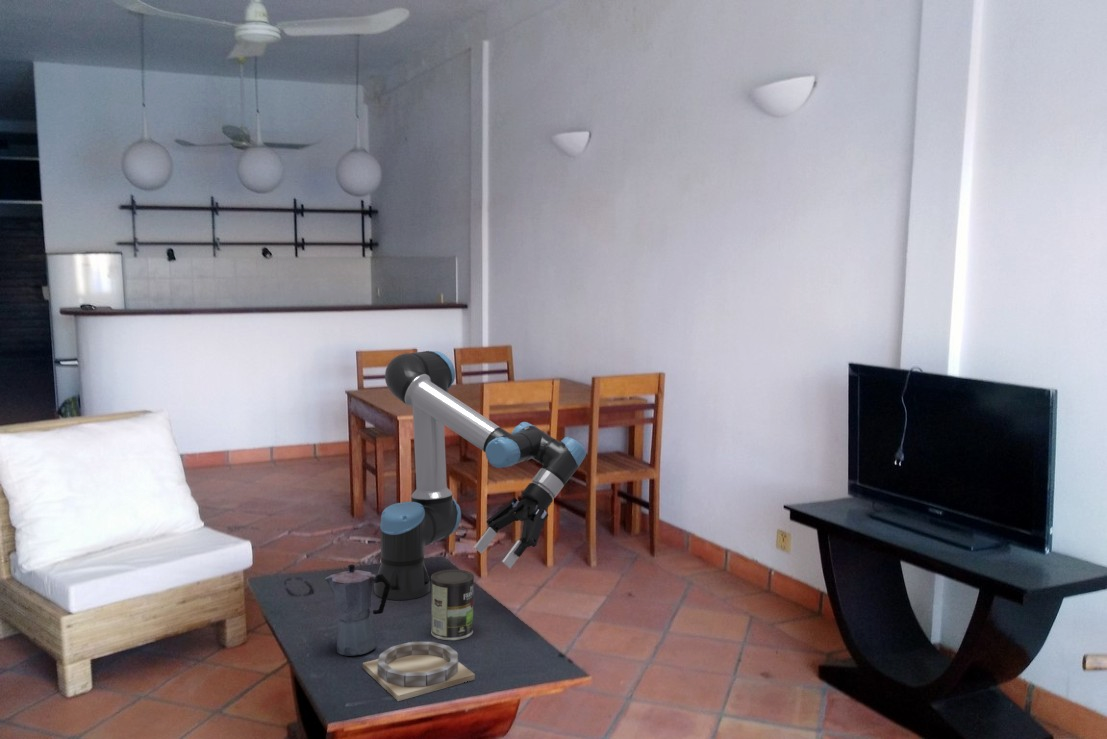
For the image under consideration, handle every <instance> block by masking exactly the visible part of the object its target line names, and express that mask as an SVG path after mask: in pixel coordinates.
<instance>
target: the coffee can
mask: <svg viewBox="0 0 1107 739" xmlns="http://www.w3.org/2000/svg"><path fill="white" fill-rule="evenodd" d="M430 579H431V580H430V582H431V607H430V608H431V626H430V628H431V630H430V633H431V635H432V636H433V638H436V639H437V640H441V641H459V640H460V641H461V640H464V639H467V638H468V637H471V636H472V635H473V633H474V580H475V575H474V574H473V573H472V572H471V571H467V570H464V569H443V570H438V571H436V572H434V573H433V574H432V575H431V577H430Z"/></svg>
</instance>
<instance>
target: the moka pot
mask: <svg viewBox="0 0 1107 739" xmlns="http://www.w3.org/2000/svg"><path fill="white" fill-rule="evenodd" d="M347 567H348V568H347V569H348V570H346V571H341V572H339V573H335V574H329V576H327V577H325V579H324V581H326V582H327V584H328V586H329V588H330V589H331V592H332V593H333V595H334V600H335V605H336V611H337V617H338V626H337V640H336V641H337V642H336V652H337V653H338V654H339V655H341V656H345V657H349V656H350V657H351V656H352V657H354V656H360V655H365V654H368V653H370V652H371V651H373V650H375V649H376V642H375V638H374V632H373V626H372V621H371V616H370V615H371V614H370V613H371V609H370V608H371V604H372V590H373V584H375V583H378V582H383V583H384V584H385V587H384V591H383V595H382V597H381V599H380V605H379V606H378V609H373V610H372V614H373V615H379V614H383V613H384V608H385V607H386V602H387V600H388V599H387V596H388V593H389V590H390V583H389V582H388V580H387V579H385V577H384V576H383V574H378V573H377V574H378V575H377V574H374V573H372V572H371V571H368V570H367V571H365V570H361V569H360V570H359V569H356V570H355V568H356V565H355V564H349V565H347Z"/></svg>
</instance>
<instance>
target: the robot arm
mask: <svg viewBox="0 0 1107 739" xmlns="http://www.w3.org/2000/svg"><path fill="white" fill-rule="evenodd" d="M385 368H386V369H385V372H384V378H385V385H386V386H387V389H388V390H389V391H390V393H391V394H392V395H394V397H395V398H397V399H398V400H399V401H400V402H402V403H403V404H405V405H407V406H409V407H412V420H413V441H414V442H413V444H414V462H415V463H414V464H415V484H416V489H415V490H414V492H412V494H411V501H403V502H396V503H393V504H390V505H389V506H387V507H385V508H384V509H383V511H382V512H381V514H380V516H381V518H380V523H379V528H380V566H379V568H378V570H377V571H378V572H377V574H376V575H378V574H383V576H384V577H385V579H387V580H388V582H389V583H390V590H389V593H388V596H387V599H386V600H395V601H405V600H407V601H408V600H412V599H413V600H414V599H418V598H421V597H423V596H425V595H427V594H428V593H429V592H431V580H430V579H431V578H430V576H429V574H428V573H429V572H428V570H427V568H426V564H425V547H426V546H428V545H431V544H433V543H436V542H438V541H441V540H444V539H447V538H448V537H449V536H451V535H452V534H454V533H455V532H456V531H457V530H458V528H459V526H460V523H461V521H462V520H461V519H462V511H461V507H460V505H459V503H457V501H456V499H455V498H454V497H453V492H452V491H451V490H450V489H449V488H448V485H447V484H448V483H447V466H446V462H447V460H446V439H445V437H446V436H445V427H447V428H448V429H450V430H451V431H452V432H454V433H455V434H457V435H459V436H460V437H462V438H463V439H465V441H467V442H469V443H470V444H472V445H473V446H475V447H477V448H478V449H480V450H481V451H483V452H484V453H485V457H486V459H487V461H488V463H489V464H490V465H491V466H492V467H494V468H498V469H503V468H509V467H513V466H515V465H517V464H519V463H522V462H525V461H528V460H534V461H535V462H537V463H539V464H540V465H542V466H541V467H540V469H539V470H538V472H537V473H536V474H535V475H534V476H533V477H532V480H531V482H530V483H528V485H527V486H526V487H525V488H524V490H523V491H522V499H521V500H520V501H519V499H517V498H516V497H513V498H512V499H511V500H510V501H509V503H507V504H506V505H505V506H503V507H502V508H501V509H499V510H498V511H497V512H495V513H494V514H493V515H491V516H490V517H489V518H488V519H487V520H486V524H487V525H488V527H487V529H486V530H485V531H484V533H483V534H482V535H481V537H480V538H479V540H478V541H477V542H476V544H475V545H474V546H473V548H474V549H475V550H476V552H477V551H478V552H479V554H481V555H483V553H484V552H485V550H486V549H487V548H488V546H489V545H491V543H492V542H493V540H494V539H495V538H496V536H497V534H498V533H499V532H498V531H499V530H501V529H504V528H505V527H507V526H509V525H511V524H512V523H513V522H518V521H520V522H523V524H522V533H521V537H520V538H519V539H518V540H517V541H516V542H515V544H513V546H512V547H511V549H510V550H509V552H508V553H507V554H506V556H505V557H504V558H503V559H502V560H501V562H502V563H503V564H504V565H505V566H506V567H507V568H508V569H511V568H512V567H513V566H514V564H515V563H516V562H517V560H518V559H519V558H520V557H521V556H522V555H523V554H524V553H525V551H526V550H527V548H530V547H533V548H535V547H536V546H537V544H538V541H539V538H540V535H541V533H542V529H543V526H544V525H545V522H546V519H547V518H548V517H549V513H548V512H547V510H548V508H549V507H550V506H551V505H552V503H553V501H554V499H555V498H556V497H557V496H559V493H560V492H561V490H562V489H563V488H564V487H565V486H566V484H567V483H568V481H569V480H570V479H571V477H572V476H573V475H574V474H575V473H576V471H577V470H578V469H579V468H580V465H581V464H582V463H583V461H584V459H585V458H586V455H587V452H586V451H587V450H586V448H585V447H584V446H583V444H581V443H580V442H579V441H578V440H576V439H574V438H571V437H570V436H566V437H565V436H564V438H563V439H561V440H560V441H559V440H558V439H556V438H554V437H552V436H551V435H549V434H548V433H546V432H545V431H543V430H541V428H538V427H537V426H536V425H533V424H531V423H530V422H527V421H522V422H520V423H519V424H518V425H516V426H515V427H514V429H513V430H512V432H511V433H510V432H509V431H508V430H507V431H506V430H505V429H504V428H502V427H501V426H499V425H497V424H496V423H494V422H493V421H491V420H490V419H489V418H487V417H485V416H484V415H482V414H481V413H479V412H478V411H476V410H475V409H473V408H471V407H470V406H469V405H467V404H465V403H464V402H463V401H461V400H459V399H458V398H456V397H455V396H454V395H452V394H450V393H449V389H450V388H451V386H452V385H453V384H454V382H455V379H456V378H455V377H456V371H455V370H456V369H455V366H454V363H453V362H452V360H451V359H450V358H449V357H448V356H447V355H446V354H445V353H443V352H441V351H435V350H426V351H425V350H423V351H417V352H411V353H409V352H408V353H401V354H398V355H397V356H395V357H393V358H392V359H391V360H390V362H388V364H387V367H385ZM373 584H374V585H373V587H374V591H373V592H374V594H375V595H376V596H377V597H380V598H382V595H383V591H384V587H385V584H384V583H383V582H378V583H373Z"/></svg>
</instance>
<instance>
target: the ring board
mask: <svg viewBox="0 0 1107 739" xmlns="http://www.w3.org/2000/svg"><path fill="white" fill-rule="evenodd" d="M458 657H459V653H458V652H457V651H456V650H455V649H454V648H452V647H451V646H449V645H446V644H443V643H438V642H434V641H411V642H405V643H400V644H397V645H392V646H390V647H389V648H387V649H385V650H384V651H383V652H381V653H380V654H379V656H378V658H376V659H373V660H368V661H365V662H362V669H363V670H364V671H365V672H366V673H368V674H369V675H370V676H371V678H373V679H374V680H375V681H376V683H378V684H379V685H380V686H381V687H382V688H383V689H384V690H385V691H386V690H387V691H386V692H387V693H389V694H390V695H391V697H393V698H394V700H396V701H397V702H400V701H404V700H408V699H412V698H414V697H415V698H416V697H418V696H422V695H425V694H429V693H432V692H437V691H440V690H443V689H447V688H450V687H453V686H457V685H460V684H464V682H465V683H468V682H471V681H474V680H476V674H475V673H474V672H473V671H472V670H470V669H469V668H467V667H466V666H465V665H464V664H463V663H461V662H460V661H459V658H458ZM467 681H468V682H467Z"/></svg>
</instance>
